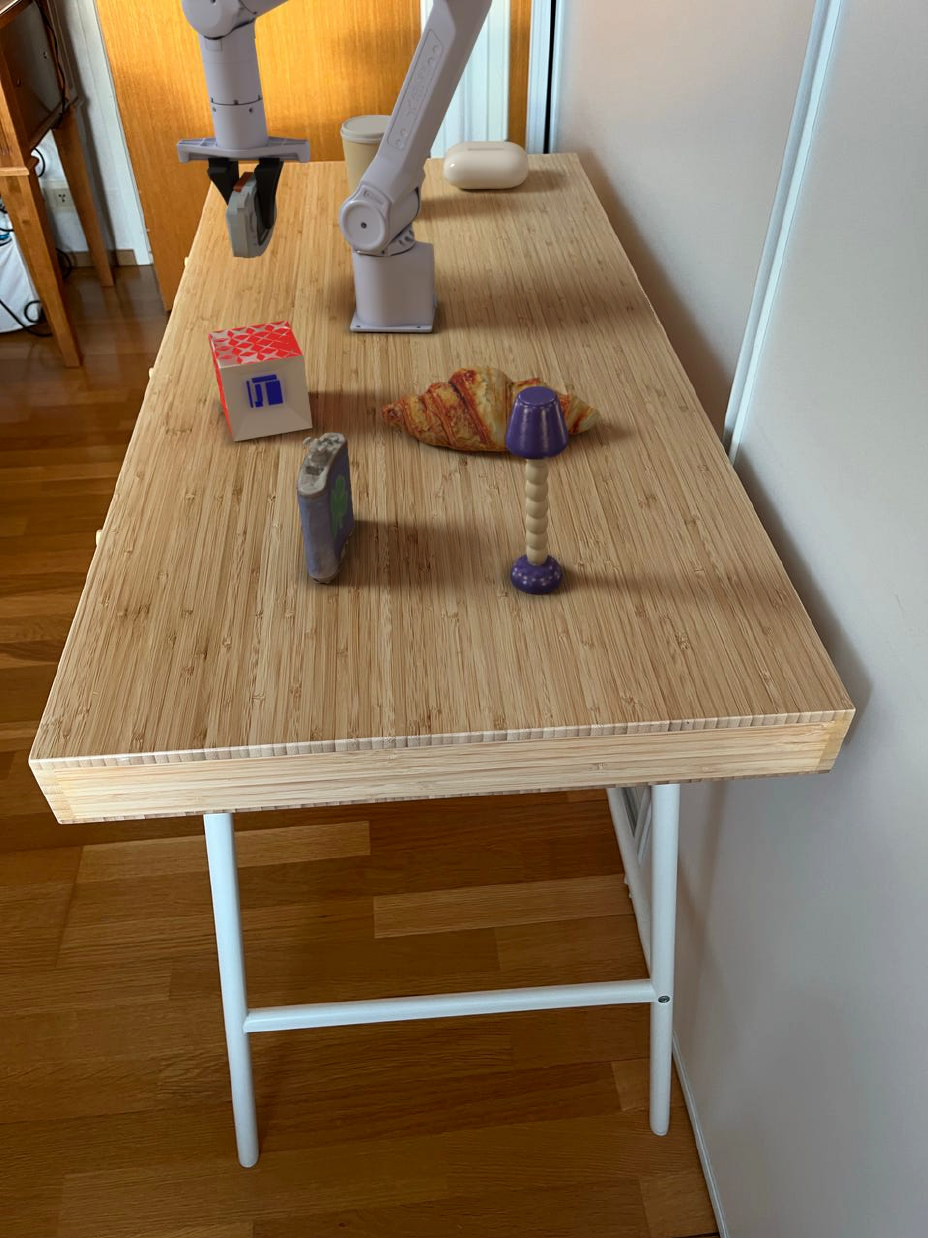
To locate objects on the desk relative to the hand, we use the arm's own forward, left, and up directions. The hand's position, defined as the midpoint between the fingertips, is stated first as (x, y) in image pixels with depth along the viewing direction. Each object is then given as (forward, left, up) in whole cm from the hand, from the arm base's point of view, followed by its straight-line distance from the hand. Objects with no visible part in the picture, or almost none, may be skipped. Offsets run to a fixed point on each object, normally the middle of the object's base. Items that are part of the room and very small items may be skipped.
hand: (255, 225), depth 115 cm
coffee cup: (-10, -31, -9) cm, 33 cm away
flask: (-15, +49, -9) cm, 53 cm away
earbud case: (-25, -44, -9) cm, 51 cm away
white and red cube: (-5, +27, -9) cm, 30 cm away
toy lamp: (-32, +52, -9) cm, 62 cm away
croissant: (-28, +30, -9) cm, 43 cm away
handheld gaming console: (0, 0, -3) cm, 3 cm away
